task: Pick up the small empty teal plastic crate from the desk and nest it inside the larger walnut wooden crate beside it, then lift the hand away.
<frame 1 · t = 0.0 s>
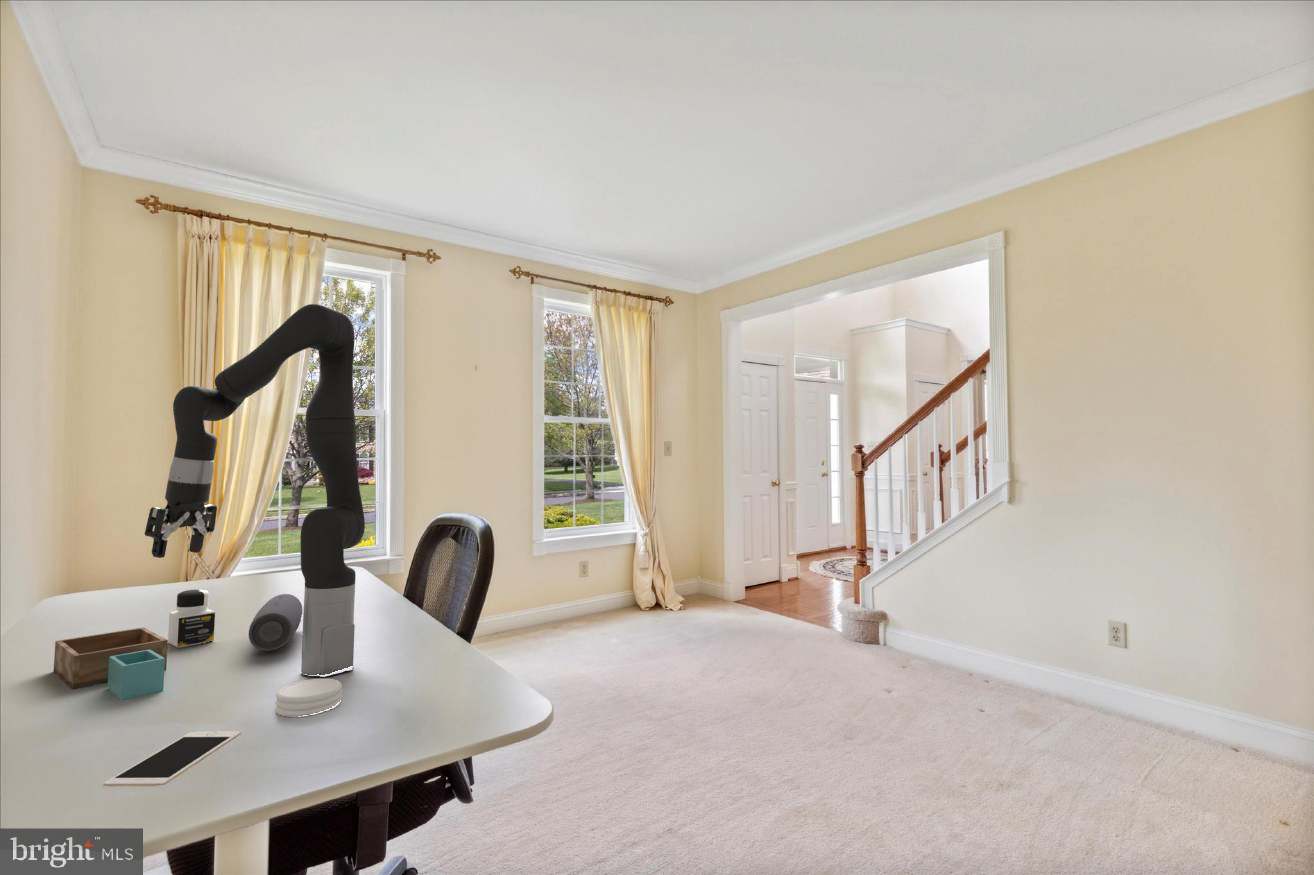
hand: (177, 554, 132), 22 cm above the table, tool pointing down, fingers open, 8 cm apart
small teal crate: (135, 690, 114), on the table
cell phone: (178, 760, 88), on the table
coaster: (309, 708, 107), on the table
walnut crate: (110, 670, 124), on the table
bluetooth speaker: (276, 644, 145), on the table
medicine bottle: (190, 643, 145), on the table
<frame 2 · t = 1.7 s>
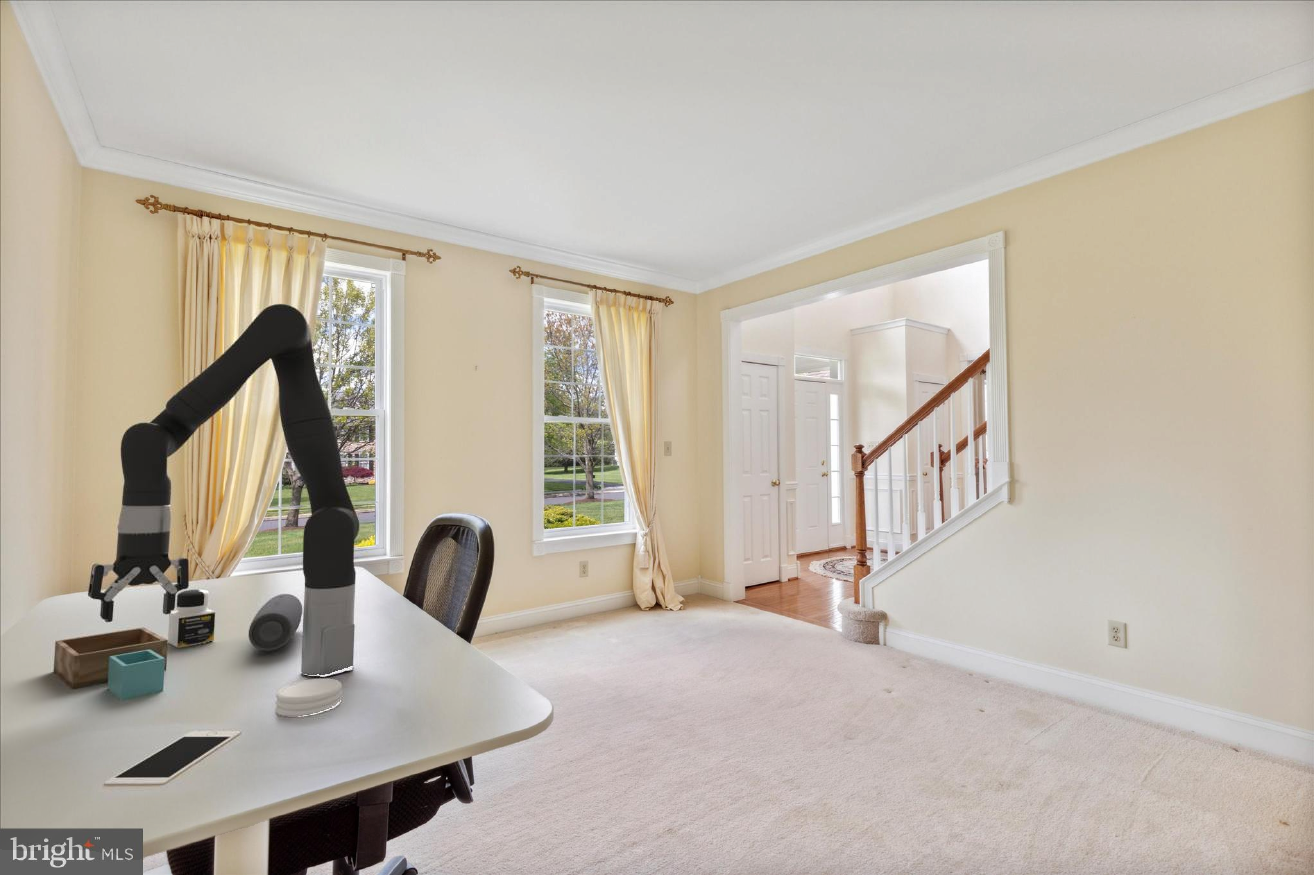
hand: (138, 617, 115), 13 cm above the table, tool pointing down, fingers open, 8 cm apart
nothing on the table moved.
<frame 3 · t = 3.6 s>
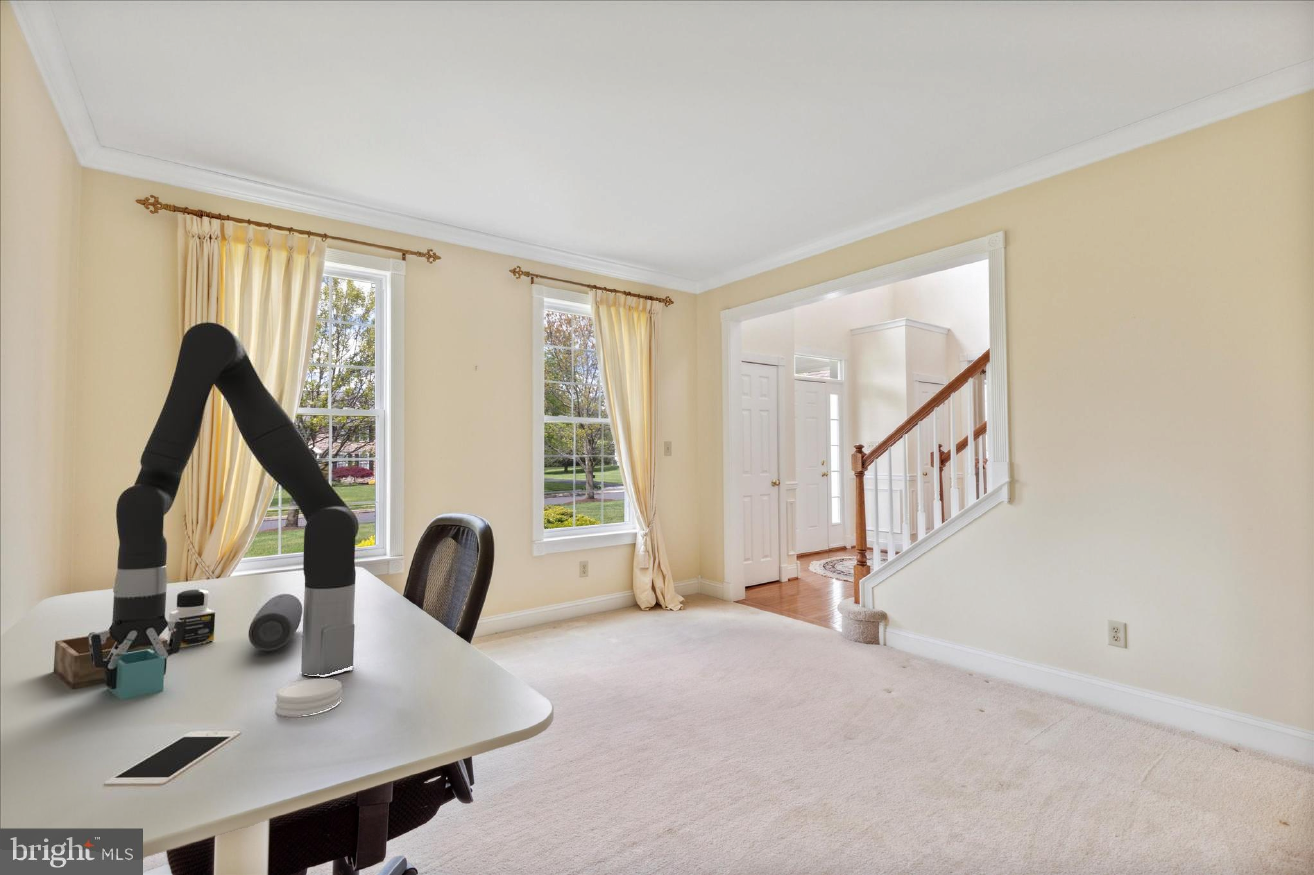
hand: (135, 683, 114), 1 cm above the table, tool pointing down, fingers closed on small teal crate, 6 cm apart
small teal crate: (135, 689, 114), on the table, touching gripper
everything else where it was.
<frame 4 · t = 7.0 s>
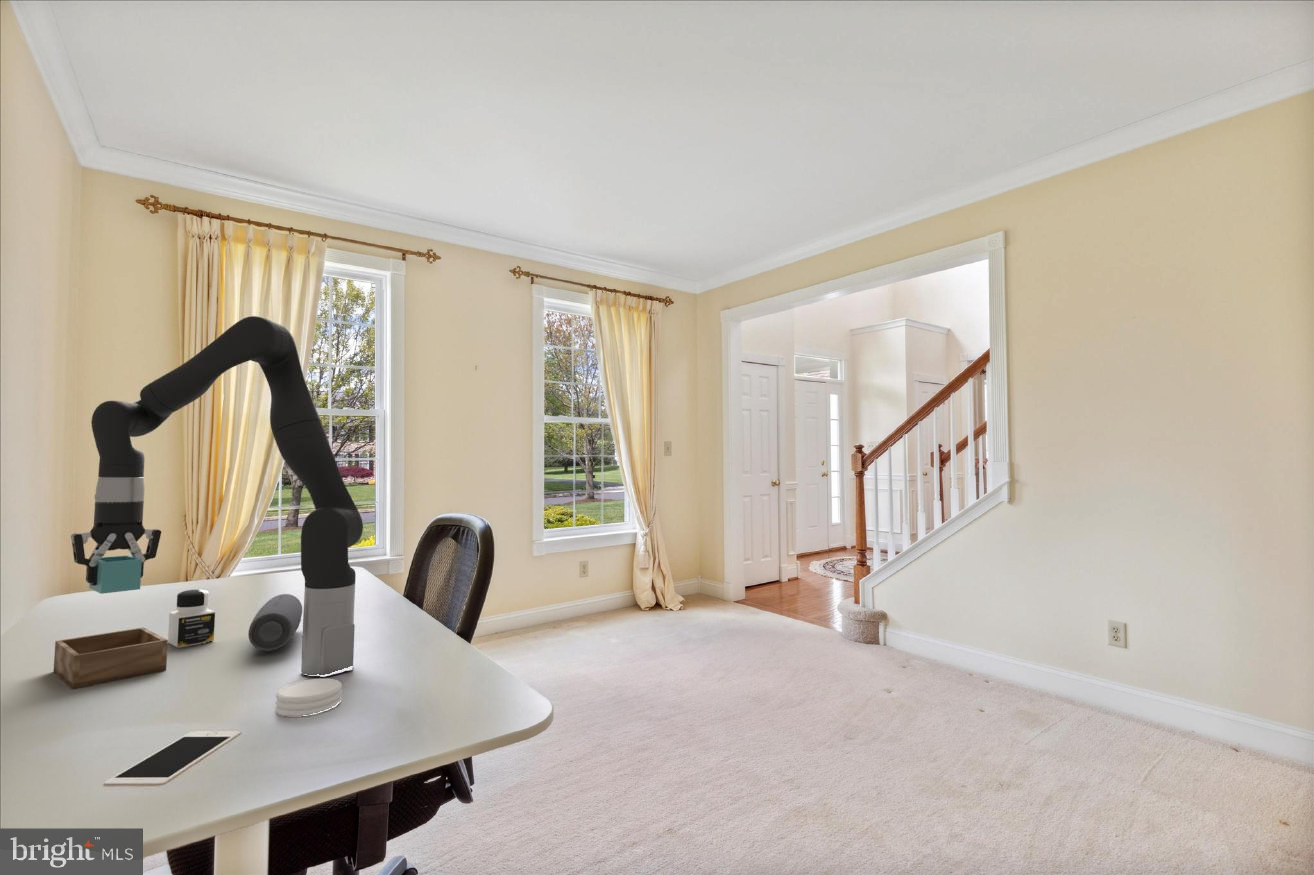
hand: (115, 582, 125), 18 cm above the table, tool pointing down, fingers closed on small teal crate, 6 cm apart
small teal crate: (114, 588, 125), point 16 cm above the table, touching gripper
everything else where it was.
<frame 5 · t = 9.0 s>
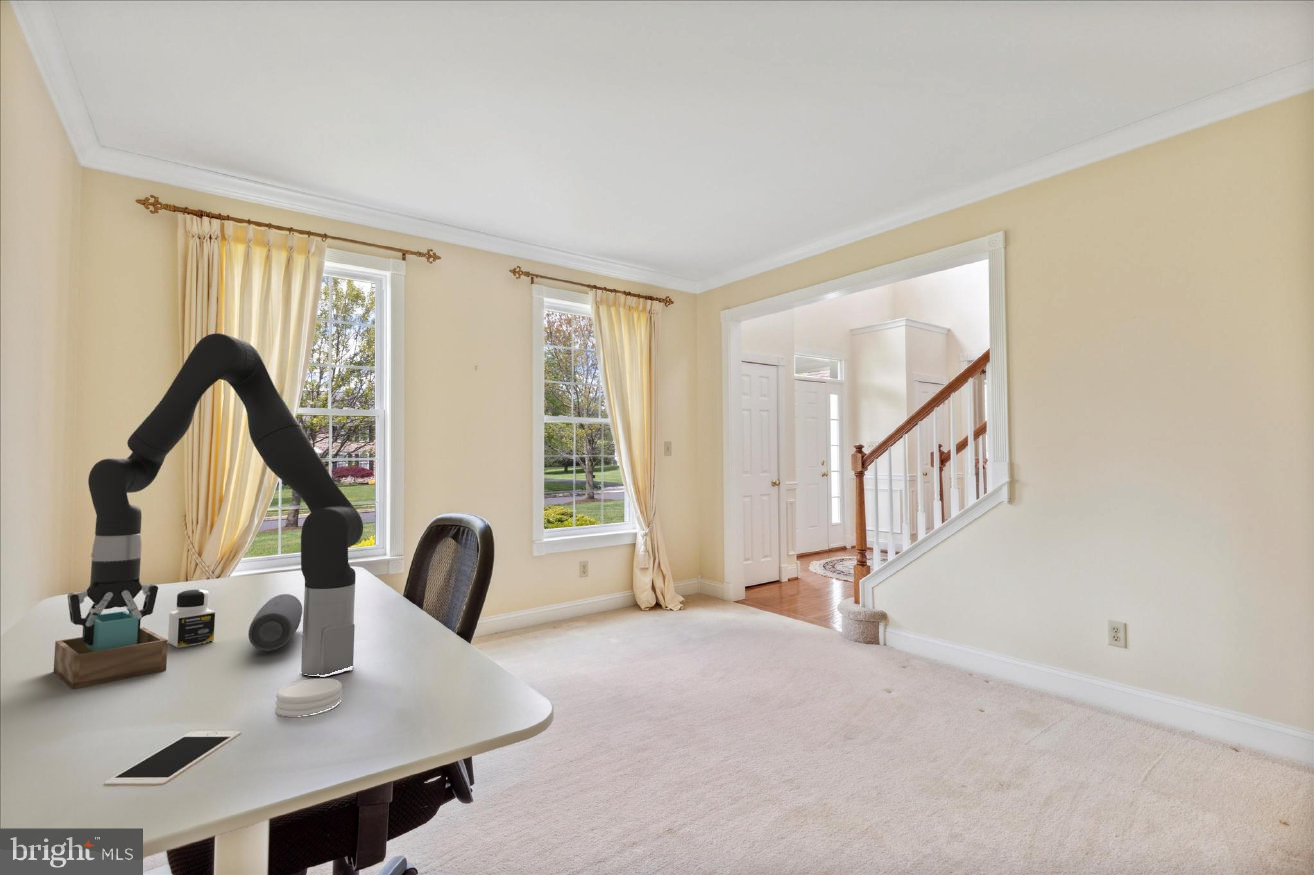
hand: (111, 640, 125), 6 cm above the table, tool pointing down, fingers closed on small teal crate, 6 cm apart
small teal crate: (110, 646, 124), point 5 cm above the table, touching gripper
everything else where it was.
when the fingers open (4 cm above the table, at t = 10.5 s): small teal crate drops 1 cm, resting on walnut crate.
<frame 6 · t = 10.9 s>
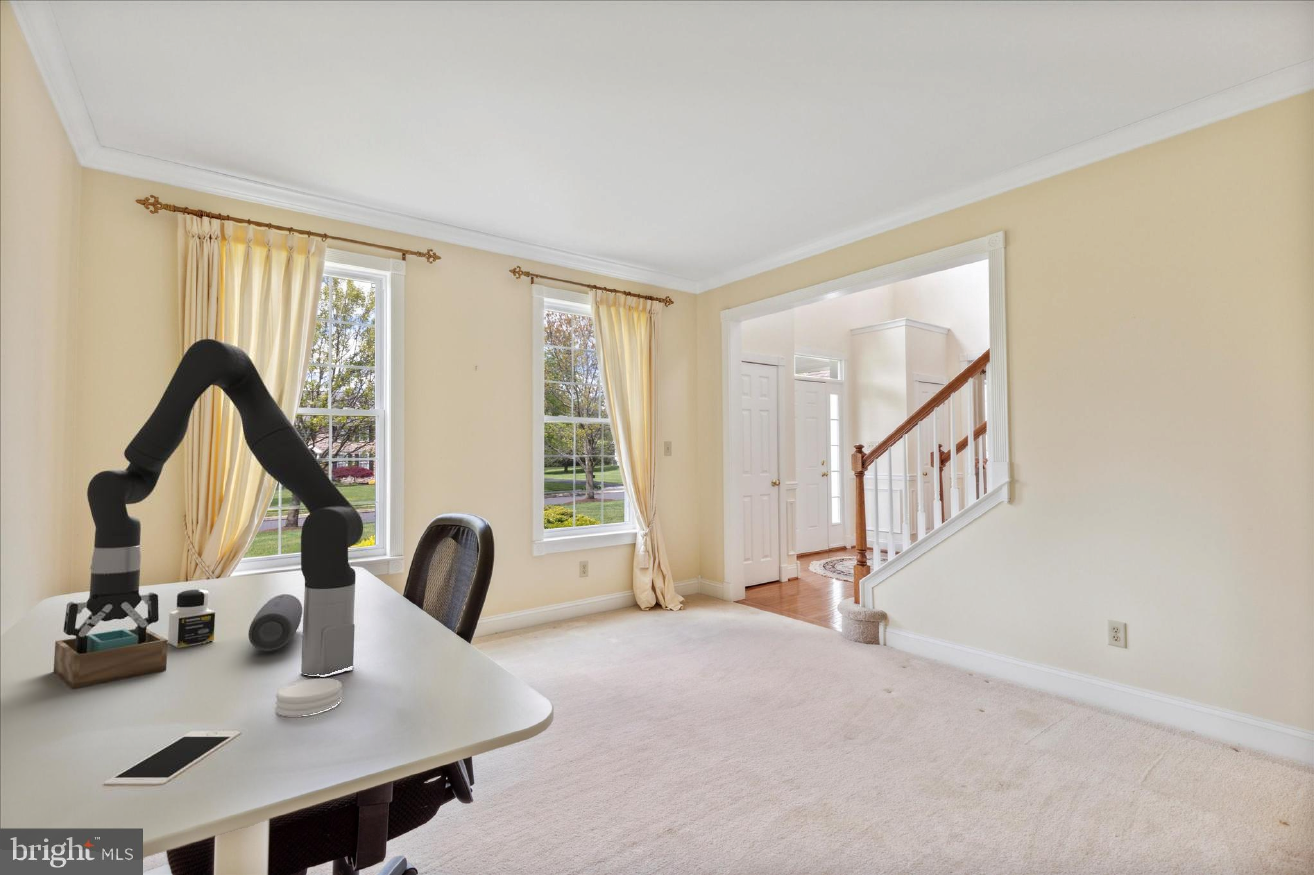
hand: (111, 650, 124), 4 cm above the table, tool pointing down, fingers open, 8 cm apart
small teal crate: (110, 665, 124), point 1 cm above the table, touching walnut crate
everything else where it was.
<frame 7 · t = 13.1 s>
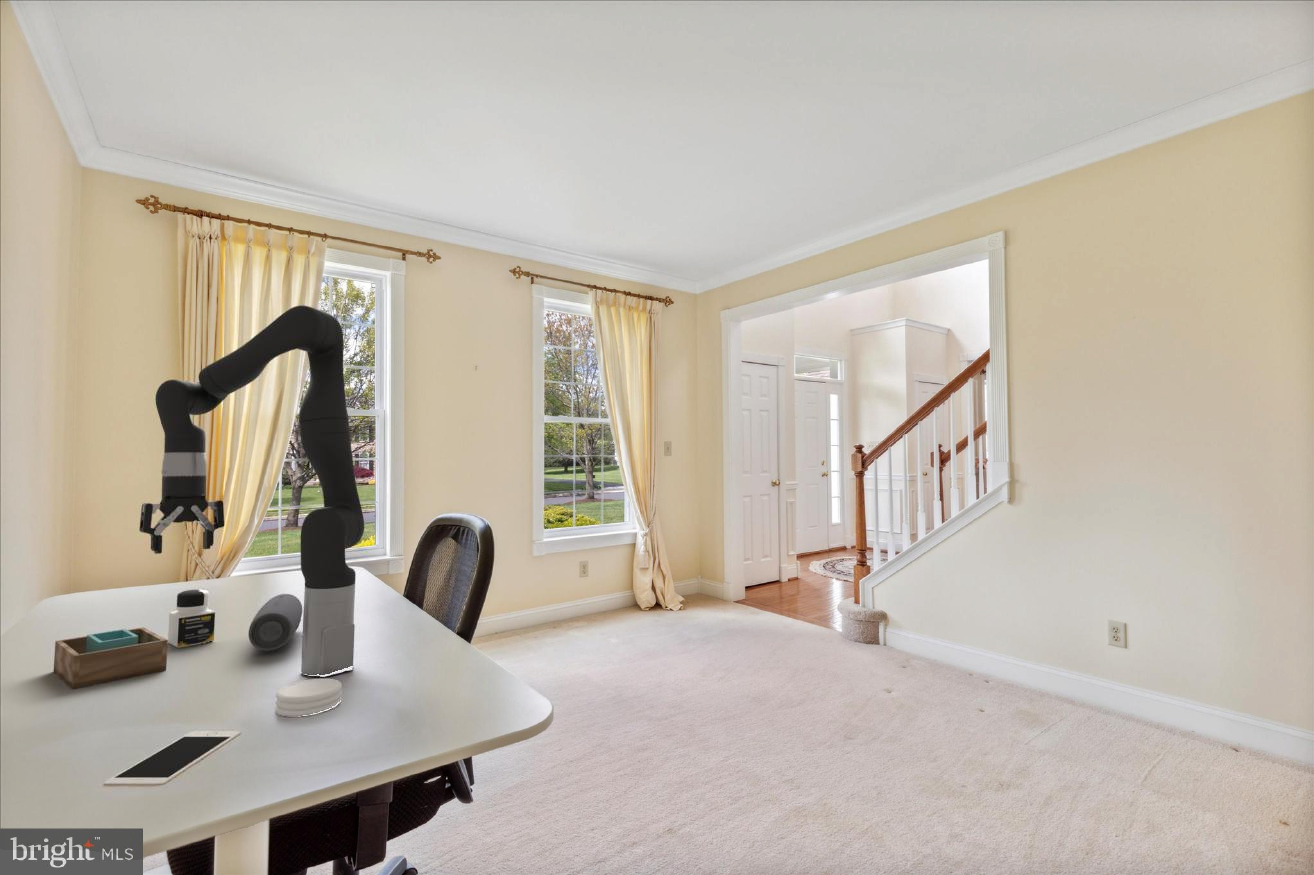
hand: (183, 551, 131), 23 cm above the table, tool pointing down, fingers open, 8 cm apart
nothing on the table moved.
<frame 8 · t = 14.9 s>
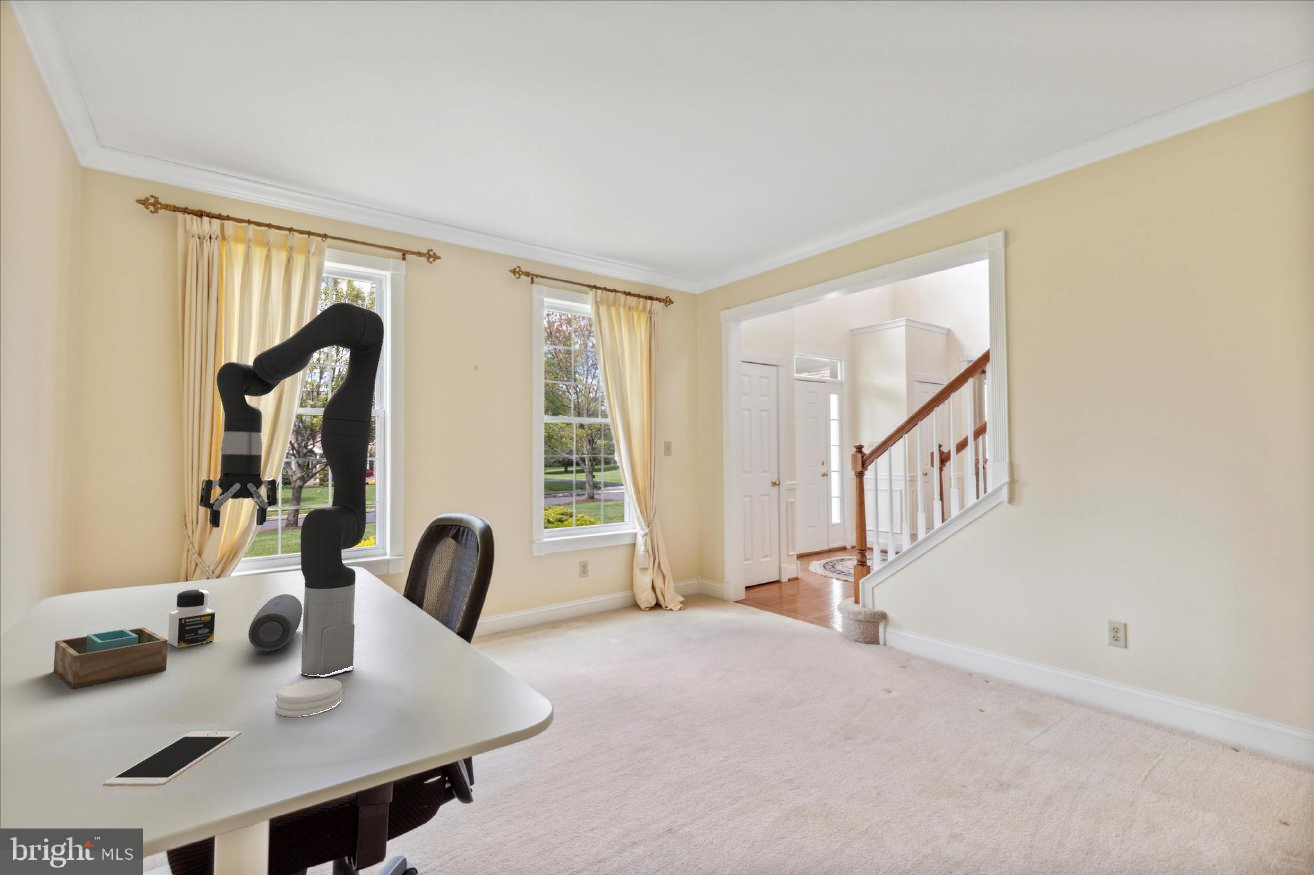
hand: (238, 526, 137), 28 cm above the table, tool pointing down, fingers open, 8 cm apart
nothing on the table moved.
at the end: small teal crate inside the target area on the walnut crate (0.1 cm from its centre), point 1.0 cm above the walnut crate's base; small teal crate tilted 0°; the gripper is holding nothing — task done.
